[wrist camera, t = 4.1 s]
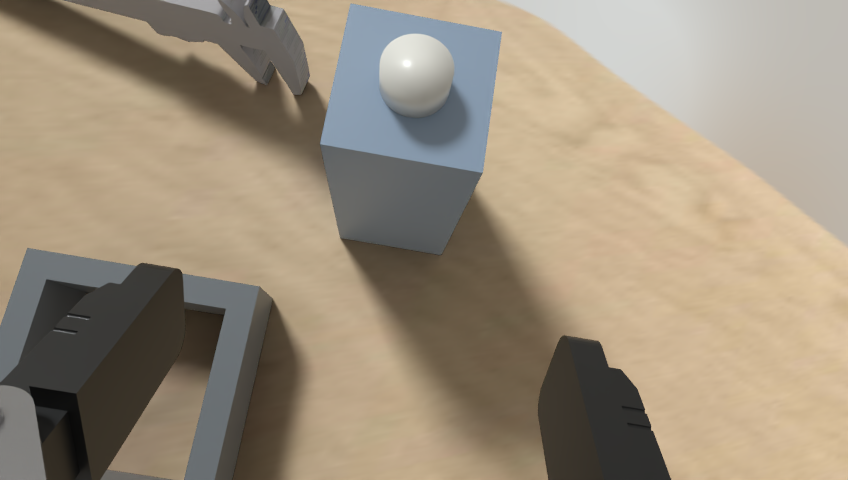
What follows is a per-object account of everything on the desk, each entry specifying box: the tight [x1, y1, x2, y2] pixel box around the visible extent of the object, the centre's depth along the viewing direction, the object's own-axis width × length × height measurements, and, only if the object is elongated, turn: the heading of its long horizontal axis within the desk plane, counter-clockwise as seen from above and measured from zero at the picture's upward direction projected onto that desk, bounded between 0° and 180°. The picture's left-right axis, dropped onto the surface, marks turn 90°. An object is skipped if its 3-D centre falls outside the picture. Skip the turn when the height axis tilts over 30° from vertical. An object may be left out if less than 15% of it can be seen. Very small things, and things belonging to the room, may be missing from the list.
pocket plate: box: [0, 248, 273, 480], centre depth 22 cm, size 9×8×3 cm
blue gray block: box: [320, 4, 502, 255], centre depth 21 cm, size 4×4×11 cm
